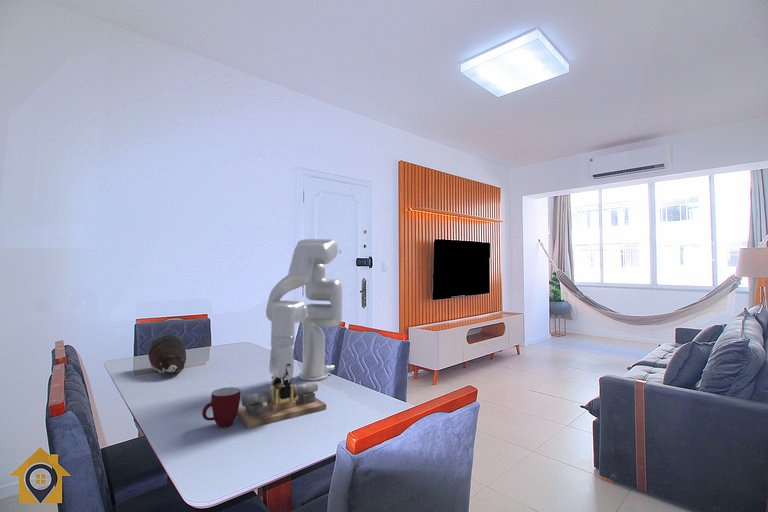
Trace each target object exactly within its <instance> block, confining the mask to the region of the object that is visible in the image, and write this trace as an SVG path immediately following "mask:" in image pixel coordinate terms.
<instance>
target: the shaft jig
mask: <svg viewBox="0 0 768 512" xmlns="http://www.w3.org/2000/svg"><path fill="white" fill-rule="evenodd" d="M291 385H293V386H294V390H293V401H292V402H287V403H283V404H279V405H275V404H274V403H272V392H271V390H270V388H267V389H266V390H265V391H261V392H254V393H250V394H244V395H242V396H241V405H242V406H239V408H238V413H237V416H236V417H237V418H238V419H239V420H240V421H241V422H242V423H243V424H244V426H245V427H246V428H247V429H251V428H254V427H255V428H256V427H259V426H262V425H268V424H270V423H275V422H279V421H283V420H288V419H292V418H295V417H300V416H304V415H307V414H312V413H316V412H319V411H324V410H326V409H327V403H325V402H323V401H322V400H321V399H319V398H318V397H316V393H315V392H318V389H319V386H318V385H319V384H318V383H317V382H316V381H313V382H312V381H311V382H308V383H302V384H297V385H296V384H295V383H291Z"/></svg>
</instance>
